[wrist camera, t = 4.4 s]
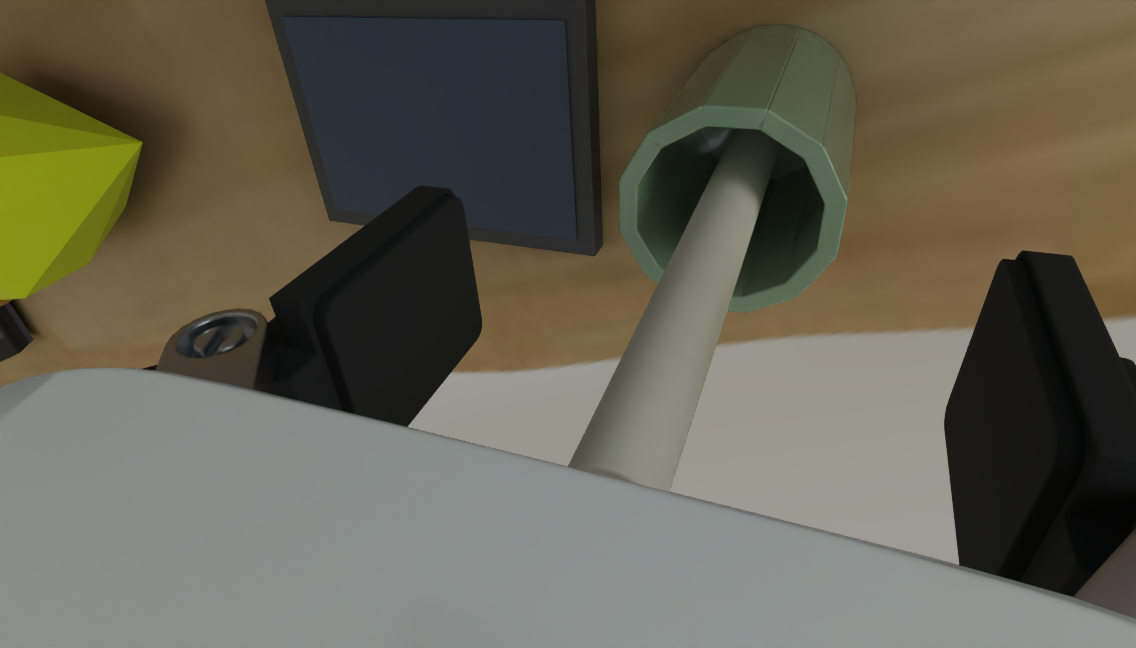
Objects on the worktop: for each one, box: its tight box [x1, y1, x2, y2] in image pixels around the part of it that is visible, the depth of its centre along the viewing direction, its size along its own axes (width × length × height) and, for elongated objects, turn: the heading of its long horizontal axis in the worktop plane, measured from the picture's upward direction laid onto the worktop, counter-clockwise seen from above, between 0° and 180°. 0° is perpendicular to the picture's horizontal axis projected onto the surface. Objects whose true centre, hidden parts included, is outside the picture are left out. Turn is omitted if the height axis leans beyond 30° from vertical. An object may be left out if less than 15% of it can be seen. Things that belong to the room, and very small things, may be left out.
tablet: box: [265, 0, 602, 256], centre depth 22 cm, size 11×8×1 cm
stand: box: [619, 25, 857, 313], centre depth 16 cm, size 4×4×7 cm
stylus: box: [568, 128, 781, 491], centre depth 13 cm, size 1×1×14 cm
